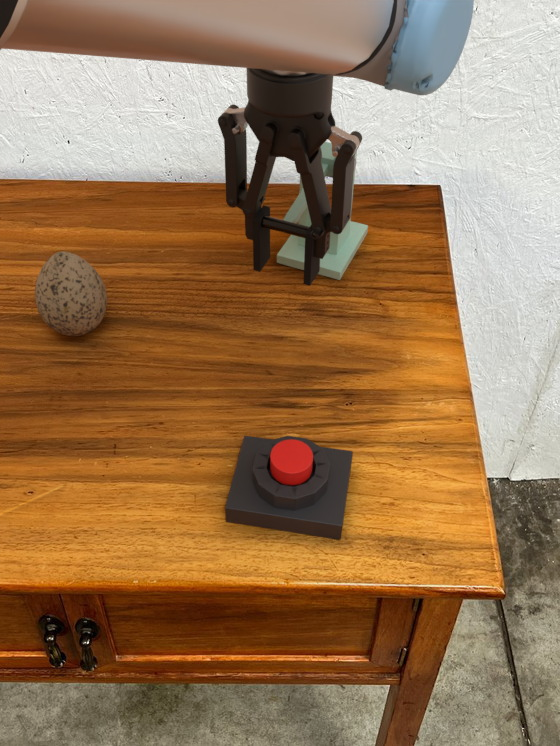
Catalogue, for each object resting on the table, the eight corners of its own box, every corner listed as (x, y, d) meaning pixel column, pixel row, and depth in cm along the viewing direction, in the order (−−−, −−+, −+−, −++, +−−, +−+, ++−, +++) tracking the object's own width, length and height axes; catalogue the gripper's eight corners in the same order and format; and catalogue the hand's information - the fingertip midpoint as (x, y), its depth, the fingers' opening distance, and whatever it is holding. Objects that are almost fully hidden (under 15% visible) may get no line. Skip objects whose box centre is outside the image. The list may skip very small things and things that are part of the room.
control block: (225, 522, 67) (223, 495, 64) (244, 450, 72) (243, 422, 70) (340, 540, 66) (343, 513, 63) (351, 465, 71) (354, 438, 68)
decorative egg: (58, 360, 80) (38, 286, 73) (35, 320, 84) (13, 246, 77) (123, 335, 83) (109, 261, 76) (97, 298, 87) (81, 224, 80)
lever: (306, 245, 78) (306, 227, 76) (261, 233, 80) (260, 215, 78) (353, 166, 86) (354, 148, 84) (312, 156, 88) (312, 138, 86)
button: (266, 482, 66) (266, 469, 64) (274, 449, 68) (274, 436, 67) (308, 488, 65) (309, 476, 64) (314, 455, 68) (315, 442, 66)
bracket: (339, 280, 90) (348, 176, 80) (276, 262, 92) (277, 159, 82) (367, 233, 96) (379, 131, 86) (307, 217, 98) (312, 116, 88)
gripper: (405, 57, 66) (378, 271, 83) (214, 21, 71) (225, 230, 88) (377, 96, 61) (354, 315, 78) (175, 54, 66) (194, 269, 83)
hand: (286, 270), depth 83 cm, fingers closed on lever, 5 cm apart
